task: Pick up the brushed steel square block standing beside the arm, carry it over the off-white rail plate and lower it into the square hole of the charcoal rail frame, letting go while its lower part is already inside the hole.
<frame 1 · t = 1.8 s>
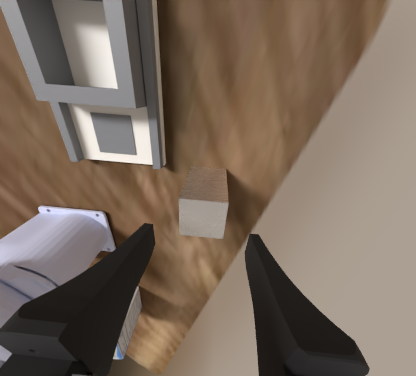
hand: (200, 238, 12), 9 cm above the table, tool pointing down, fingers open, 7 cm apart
medicine box: (131, 293, 35), on the table
steel square block: (207, 182, 20), on the table
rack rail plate: (103, 50, 15), on the table
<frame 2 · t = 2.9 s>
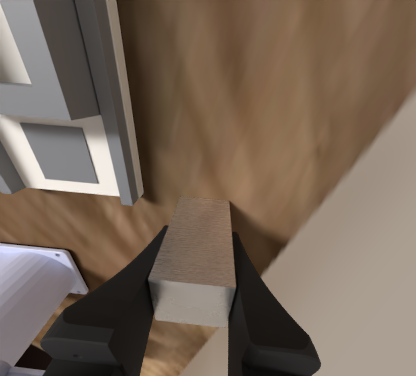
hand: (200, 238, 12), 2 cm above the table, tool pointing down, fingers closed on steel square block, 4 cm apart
steel square block: (203, 217, 15), on the table, touching gripper
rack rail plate: (26, 22, 9), on the table
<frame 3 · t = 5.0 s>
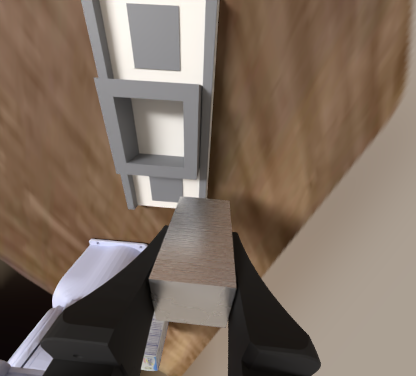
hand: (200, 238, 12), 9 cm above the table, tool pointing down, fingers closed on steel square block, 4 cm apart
medicine box: (160, 309, 38), on the table
steel square block: (203, 217, 15), point 7 cm above the table, touching gripper
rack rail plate: (164, 127, 18), on the table
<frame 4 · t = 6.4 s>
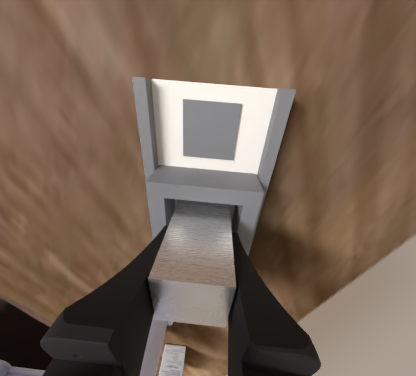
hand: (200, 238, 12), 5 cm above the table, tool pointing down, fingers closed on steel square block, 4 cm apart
medicine box: (175, 349, 37), on the table
steel square block: (203, 217, 15), point 2 cm above the table, touching gripper
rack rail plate: (205, 203, 16), on the table
when the fingers open (4 cm above the table, at t = 7.2 s): steel square block drops 1 cm, resting on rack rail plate.
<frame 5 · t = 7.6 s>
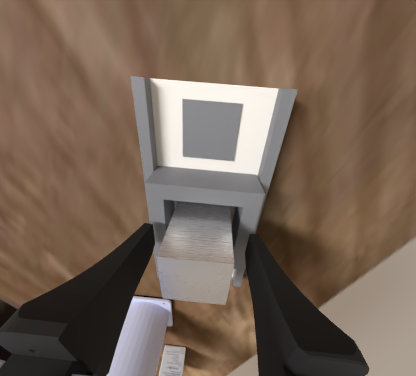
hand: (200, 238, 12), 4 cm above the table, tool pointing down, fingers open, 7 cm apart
medicine box: (175, 350, 37), on the table
steel square block: (204, 208, 16), point 1 cm above the table, touching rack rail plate
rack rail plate: (205, 204, 16), on the table
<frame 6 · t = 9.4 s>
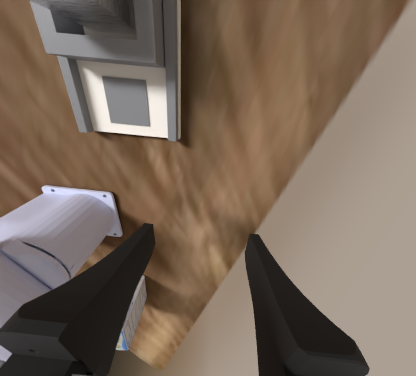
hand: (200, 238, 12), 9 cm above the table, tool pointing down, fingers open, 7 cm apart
medicine box: (136, 283, 34), on the table
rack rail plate: (118, 3, 13), on the table
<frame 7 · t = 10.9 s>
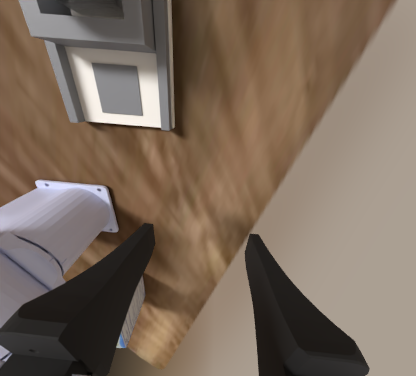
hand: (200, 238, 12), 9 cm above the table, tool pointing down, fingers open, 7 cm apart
medicine box: (134, 281, 33), on the table
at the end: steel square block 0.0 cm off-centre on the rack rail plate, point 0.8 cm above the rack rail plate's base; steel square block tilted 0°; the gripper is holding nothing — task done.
